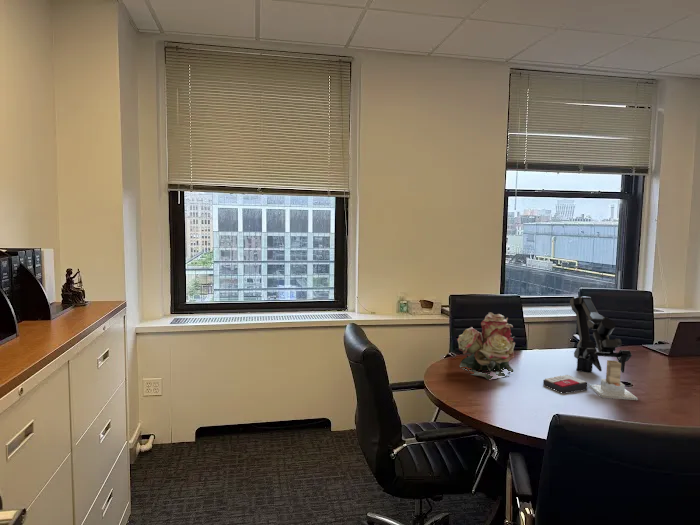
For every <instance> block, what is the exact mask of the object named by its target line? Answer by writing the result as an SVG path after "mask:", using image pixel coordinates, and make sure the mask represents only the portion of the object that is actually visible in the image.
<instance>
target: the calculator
mask: <svg viewBox="0 0 700 525" xmlns="http://www.w3.org/2000/svg"><path fill="white" fill-rule="evenodd" d="M542 385H543V386H544V385H545V386H544V387H546V386H548V387H550V388H549V389H551V388H552V389H551V390H553V389H555V390H557V391H559V392H558V393H560V392H562V393H561V394H567V393H566V392H570V393H575V392H578V391H580V392H582V391H581V390H583V391H587V390H588V382H587V381H585V380H583V379H580V378H578V377H576V376H575V377H574V376H572V375H569V374H565V375H558V376H557V375H556V376H554V377H552V376H551V377H547V378H545V379H543V383H542ZM548 387H547V388H548ZM555 390H554V391H555ZM557 391H556V392H557ZM574 391H575V392H574Z"/></svg>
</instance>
